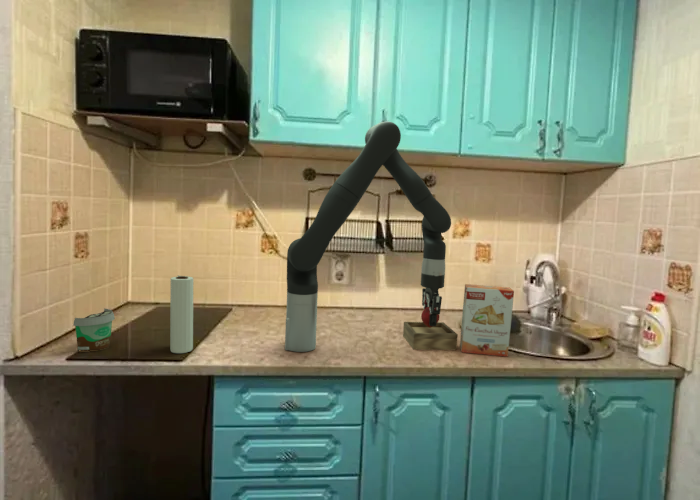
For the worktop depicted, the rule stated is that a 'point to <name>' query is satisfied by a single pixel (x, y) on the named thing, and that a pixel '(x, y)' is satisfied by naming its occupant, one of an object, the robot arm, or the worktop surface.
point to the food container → (94, 330)
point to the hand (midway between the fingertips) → (429, 322)
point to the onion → (427, 316)
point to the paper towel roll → (181, 314)
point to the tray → (430, 336)
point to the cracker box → (486, 320)
